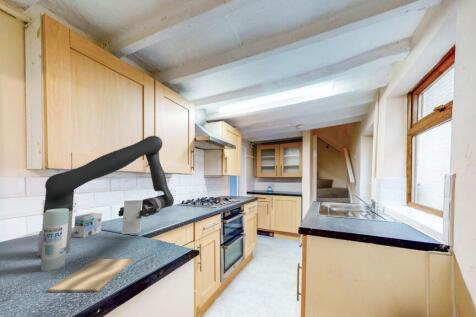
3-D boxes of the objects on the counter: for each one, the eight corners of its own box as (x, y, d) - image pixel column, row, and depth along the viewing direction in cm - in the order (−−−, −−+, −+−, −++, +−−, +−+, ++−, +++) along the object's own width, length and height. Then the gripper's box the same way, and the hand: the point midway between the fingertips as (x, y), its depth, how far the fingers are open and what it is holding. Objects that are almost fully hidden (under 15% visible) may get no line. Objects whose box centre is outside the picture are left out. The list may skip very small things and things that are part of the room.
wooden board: (46, 291, 55) (47, 289, 56) (96, 260, 75) (96, 259, 75) (97, 291, 56) (97, 289, 56) (133, 260, 76) (133, 259, 76)
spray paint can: (68, 261, 74) (72, 207, 76) (59, 269, 68) (64, 210, 70) (46, 264, 72) (50, 208, 74) (35, 272, 66) (40, 212, 68)
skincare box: (121, 234, 71) (123, 200, 72) (123, 231, 75) (124, 198, 76) (140, 232, 73) (142, 199, 74) (141, 229, 77) (142, 198, 78)
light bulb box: (83, 238, 102) (84, 216, 103) (72, 237, 103) (74, 216, 104) (101, 232, 113) (102, 212, 113) (91, 231, 114) (92, 212, 115)
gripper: (134, 197, 90) (111, 203, 73) (166, 198, 90) (150, 203, 73) (133, 214, 89) (109, 223, 72) (165, 215, 89) (149, 224, 72)
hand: (130, 213), depth 73 cm, fingers closed on skincare box, 7 cm apart
